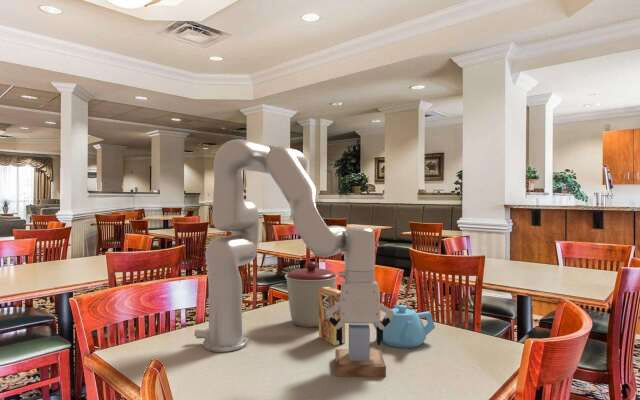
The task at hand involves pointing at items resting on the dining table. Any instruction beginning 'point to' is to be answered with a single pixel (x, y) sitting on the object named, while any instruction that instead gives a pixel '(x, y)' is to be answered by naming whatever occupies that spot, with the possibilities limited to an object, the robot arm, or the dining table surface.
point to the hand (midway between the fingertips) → (359, 343)
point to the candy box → (326, 328)
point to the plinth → (360, 364)
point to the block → (359, 342)
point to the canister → (307, 293)
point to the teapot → (406, 328)
